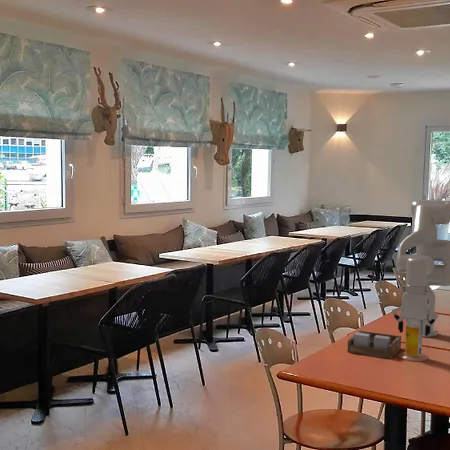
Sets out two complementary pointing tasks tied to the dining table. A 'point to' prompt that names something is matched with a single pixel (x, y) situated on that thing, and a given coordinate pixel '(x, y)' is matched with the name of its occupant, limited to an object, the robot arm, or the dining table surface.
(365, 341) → the offcut
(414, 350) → the beer can
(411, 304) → the robot arm
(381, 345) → the offcut
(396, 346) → the rack
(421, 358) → the coaster
